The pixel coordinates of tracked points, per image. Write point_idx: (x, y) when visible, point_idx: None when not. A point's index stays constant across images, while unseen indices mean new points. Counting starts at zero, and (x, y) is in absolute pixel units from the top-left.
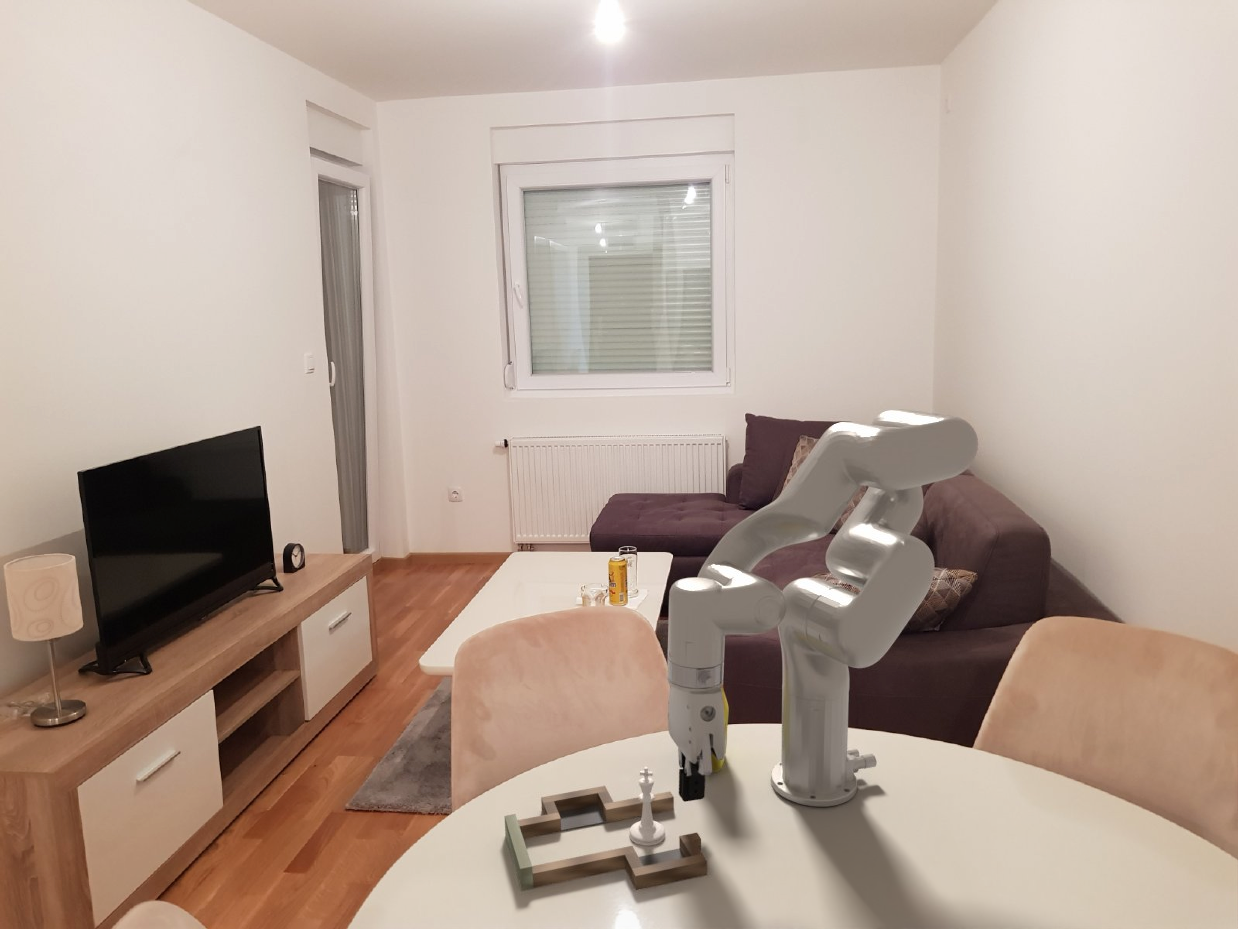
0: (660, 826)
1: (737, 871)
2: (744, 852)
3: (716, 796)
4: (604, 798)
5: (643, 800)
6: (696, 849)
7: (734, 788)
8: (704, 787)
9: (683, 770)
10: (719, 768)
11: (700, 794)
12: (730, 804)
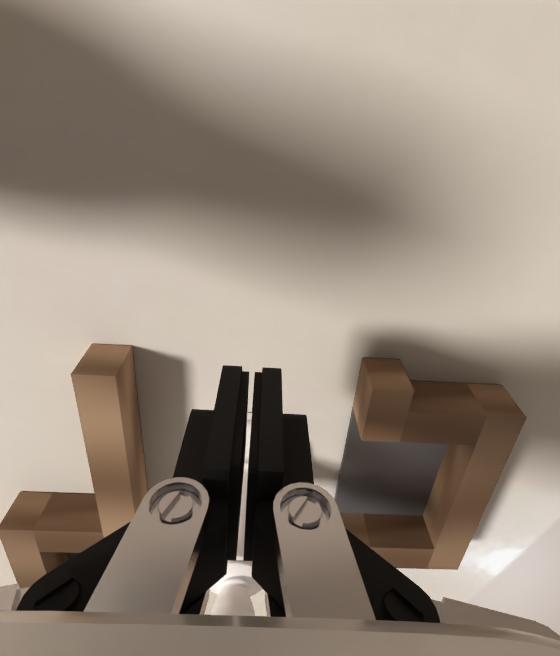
0: (248, 439)
1: (548, 299)
2: (481, 227)
3: (67, 144)
4: (76, 546)
5: (255, 592)
6: (456, 423)
7: (2, 4)
8: (281, 401)
9: (226, 564)
10: None
11: (304, 416)
12: (149, 110)
